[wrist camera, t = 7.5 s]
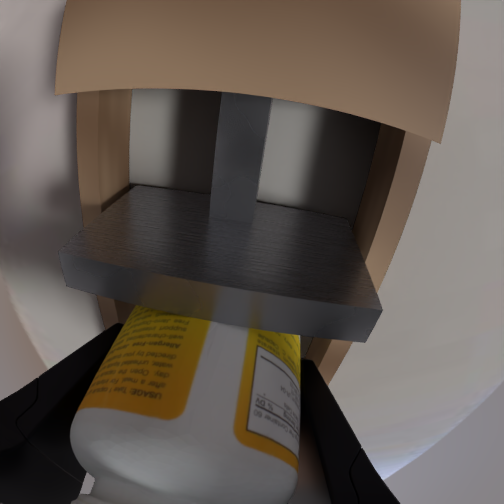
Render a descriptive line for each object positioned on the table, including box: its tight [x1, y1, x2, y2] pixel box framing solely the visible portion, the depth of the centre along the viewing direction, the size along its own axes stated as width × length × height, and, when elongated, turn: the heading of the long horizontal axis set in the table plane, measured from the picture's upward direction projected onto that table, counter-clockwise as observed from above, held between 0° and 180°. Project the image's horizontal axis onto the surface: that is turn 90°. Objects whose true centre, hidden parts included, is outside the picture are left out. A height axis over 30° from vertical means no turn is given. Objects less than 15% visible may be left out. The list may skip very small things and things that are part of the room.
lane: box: [55, 0, 461, 386], centre depth 11 cm, size 26×10×4 cm, turn 172°
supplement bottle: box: [70, 305, 300, 504], centre depth 7 cm, size 5×5×10 cm
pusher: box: [58, 92, 383, 343], centre depth 6 cm, size 7×7×4 cm
